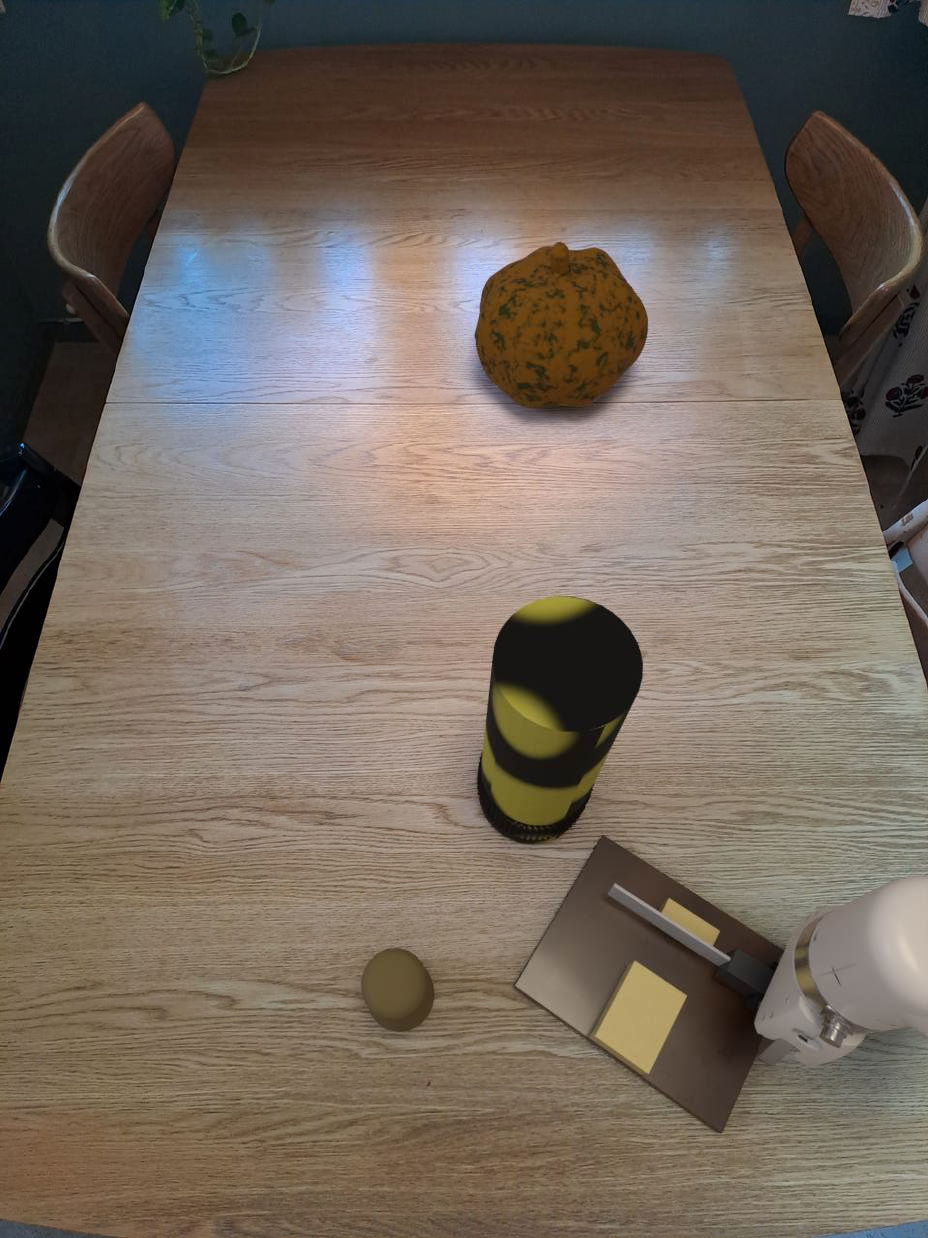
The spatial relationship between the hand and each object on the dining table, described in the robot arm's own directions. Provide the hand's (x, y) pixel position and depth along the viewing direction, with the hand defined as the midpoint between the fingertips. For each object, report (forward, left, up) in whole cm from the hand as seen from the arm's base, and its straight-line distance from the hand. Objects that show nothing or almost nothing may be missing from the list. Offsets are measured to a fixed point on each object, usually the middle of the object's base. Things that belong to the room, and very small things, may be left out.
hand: (769, 996), depth 71 cm
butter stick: (+9, +8, -2) cm, 12 cm away
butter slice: (+8, -1, -2) cm, 9 cm away
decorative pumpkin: (+54, -55, -4) cm, 77 cm away
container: (+27, -5, -4) cm, 27 cm away
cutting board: (+9, +3, -4) cm, 10 cm away
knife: (+5, 0, 0) cm, 5 cm away
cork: (+27, +17, -4) cm, 32 cm away
